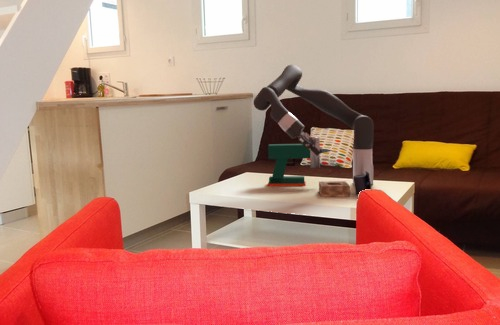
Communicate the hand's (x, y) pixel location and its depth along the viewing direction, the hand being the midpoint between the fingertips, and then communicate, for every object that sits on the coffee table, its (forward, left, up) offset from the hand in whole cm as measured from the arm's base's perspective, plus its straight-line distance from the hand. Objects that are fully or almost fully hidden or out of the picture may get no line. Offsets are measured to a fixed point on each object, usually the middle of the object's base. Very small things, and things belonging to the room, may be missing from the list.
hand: (319, 153), depth 197 cm
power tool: (+7, -30, -19) cm, 37 cm away
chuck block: (-7, -7, -19) cm, 21 cm away
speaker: (-19, -4, -19) cm, 27 cm away
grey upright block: (+2, 0, -6) cm, 6 cm away
